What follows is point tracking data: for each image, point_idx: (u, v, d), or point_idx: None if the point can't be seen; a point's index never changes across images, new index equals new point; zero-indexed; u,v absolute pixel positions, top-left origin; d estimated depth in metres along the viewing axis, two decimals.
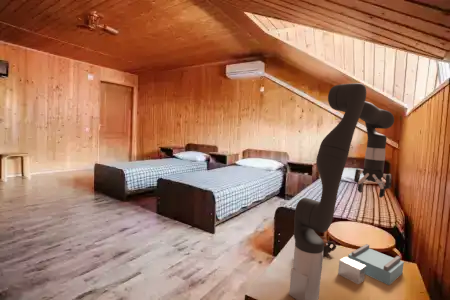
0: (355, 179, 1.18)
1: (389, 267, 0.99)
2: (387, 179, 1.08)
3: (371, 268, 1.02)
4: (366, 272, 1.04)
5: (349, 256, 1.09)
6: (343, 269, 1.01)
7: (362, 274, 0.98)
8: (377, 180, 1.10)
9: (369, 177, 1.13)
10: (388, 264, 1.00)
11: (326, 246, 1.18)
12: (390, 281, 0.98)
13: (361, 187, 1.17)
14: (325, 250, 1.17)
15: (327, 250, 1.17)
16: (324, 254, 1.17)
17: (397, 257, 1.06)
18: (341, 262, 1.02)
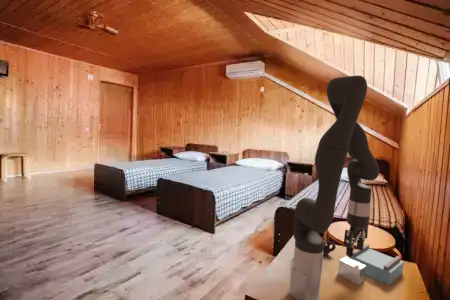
0: (350, 244, 0.95)
1: (389, 267, 0.99)
2: (367, 229, 1.03)
3: (371, 268, 1.02)
4: (366, 272, 1.04)
5: (349, 256, 1.09)
6: (343, 269, 1.01)
7: (362, 274, 0.98)
8: (364, 234, 1.00)
9: None
10: (388, 264, 1.00)
11: (325, 247, 1.17)
12: (390, 281, 0.98)
13: None
14: (324, 250, 1.17)
15: (326, 250, 1.17)
16: (323, 255, 1.16)
17: (397, 257, 1.06)
18: (341, 262, 1.02)
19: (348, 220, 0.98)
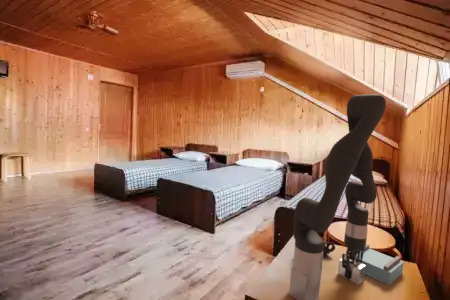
0: (349, 267, 0.97)
1: (389, 267, 0.99)
2: (363, 252, 1.03)
3: (371, 268, 1.02)
4: (366, 272, 1.04)
5: None
6: (343, 269, 1.01)
7: (362, 274, 0.98)
8: (360, 256, 1.01)
9: None
10: (388, 264, 1.00)
11: (325, 247, 1.17)
12: (390, 281, 0.98)
13: None
14: (324, 251, 1.16)
15: (326, 251, 1.16)
16: (323, 255, 1.16)
17: (397, 257, 1.06)
18: (341, 262, 1.02)
19: (346, 242, 0.99)
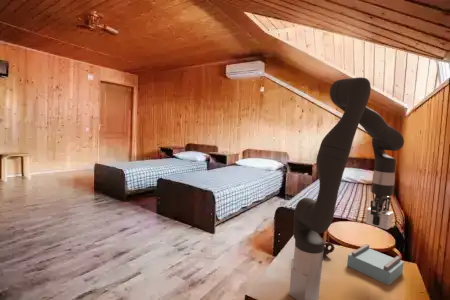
0: (377, 213, 1.01)
1: (389, 267, 0.99)
2: (389, 202, 1.07)
3: (371, 268, 1.02)
4: (366, 272, 1.04)
5: (349, 256, 1.09)
6: (370, 217, 1.05)
7: (390, 220, 1.02)
8: (387, 204, 1.05)
9: None
10: (388, 264, 1.00)
11: (324, 248, 1.16)
12: (390, 281, 0.98)
13: None
14: (323, 252, 1.15)
15: (325, 251, 1.16)
16: None
17: (397, 257, 1.06)
18: (368, 210, 1.06)
19: (373, 190, 1.03)
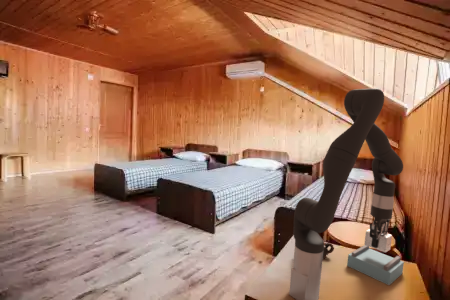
0: (376, 236, 1.02)
1: (389, 267, 0.99)
2: (388, 224, 1.09)
3: (371, 268, 1.02)
4: (366, 272, 1.04)
5: (349, 256, 1.09)
6: (369, 239, 1.07)
7: (388, 243, 1.04)
8: (386, 226, 1.06)
9: None
10: (388, 264, 1.00)
11: (324, 248, 1.15)
12: (390, 281, 0.98)
13: None
14: None
15: (325, 252, 1.15)
16: None
17: (397, 257, 1.06)
18: (368, 232, 1.07)
19: (373, 213, 1.05)
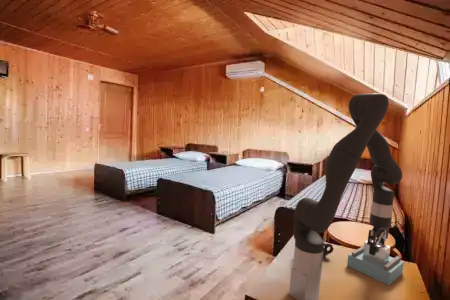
0: (374, 243, 1.02)
1: (389, 267, 0.99)
2: (387, 230, 1.09)
3: (371, 268, 1.02)
4: (366, 272, 1.04)
5: (349, 256, 1.09)
6: (368, 250, 1.07)
7: (387, 254, 1.04)
8: (385, 235, 1.07)
9: None
10: (388, 264, 1.00)
11: None
12: (390, 281, 0.98)
13: None
14: None
15: (324, 252, 1.15)
16: None
17: (397, 257, 1.06)
18: (366, 244, 1.08)
19: (372, 221, 1.05)
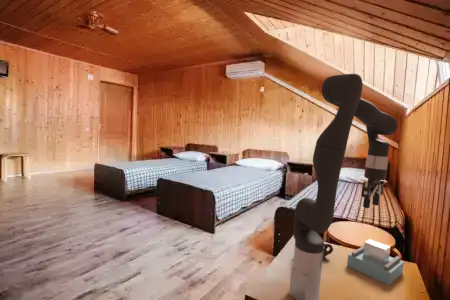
0: (368, 195, 1.00)
1: (389, 267, 0.99)
2: (383, 185, 1.08)
3: (371, 268, 1.02)
4: (366, 272, 1.04)
5: (349, 256, 1.09)
6: (368, 250, 1.07)
7: (387, 254, 1.04)
8: (380, 189, 1.05)
9: None
10: (388, 264, 1.00)
11: None
12: (390, 281, 0.98)
13: None
14: None
15: (324, 253, 1.14)
16: None
17: (397, 257, 1.06)
18: (366, 244, 1.08)
19: (366, 174, 1.04)
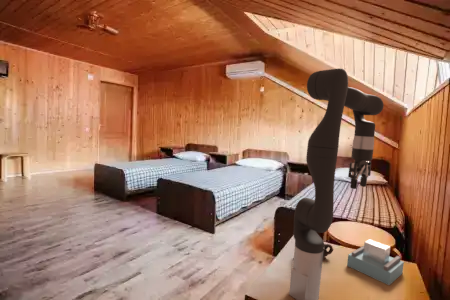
0: (355, 175, 1.00)
1: (389, 267, 0.99)
2: (370, 166, 1.08)
3: (371, 268, 1.02)
4: (366, 272, 1.04)
5: (349, 256, 1.09)
6: (368, 250, 1.07)
7: (387, 254, 1.04)
8: (367, 170, 1.05)
9: None
10: (388, 264, 1.00)
11: None
12: (390, 281, 0.98)
13: None
14: None
15: (324, 253, 1.14)
16: None
17: (397, 257, 1.06)
18: (366, 244, 1.08)
19: (353, 155, 1.03)
